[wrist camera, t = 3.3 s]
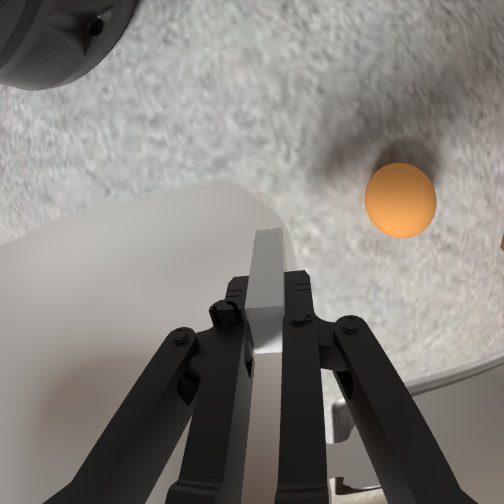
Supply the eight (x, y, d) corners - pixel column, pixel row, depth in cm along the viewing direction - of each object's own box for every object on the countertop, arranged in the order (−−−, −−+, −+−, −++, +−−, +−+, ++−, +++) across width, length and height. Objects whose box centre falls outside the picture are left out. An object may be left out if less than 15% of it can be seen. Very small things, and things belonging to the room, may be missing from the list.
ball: (355, 155, 21) (377, 178, 16) (419, 153, 20) (452, 175, 16) (357, 220, 24) (374, 256, 19) (416, 215, 23) (443, 248, 18)
